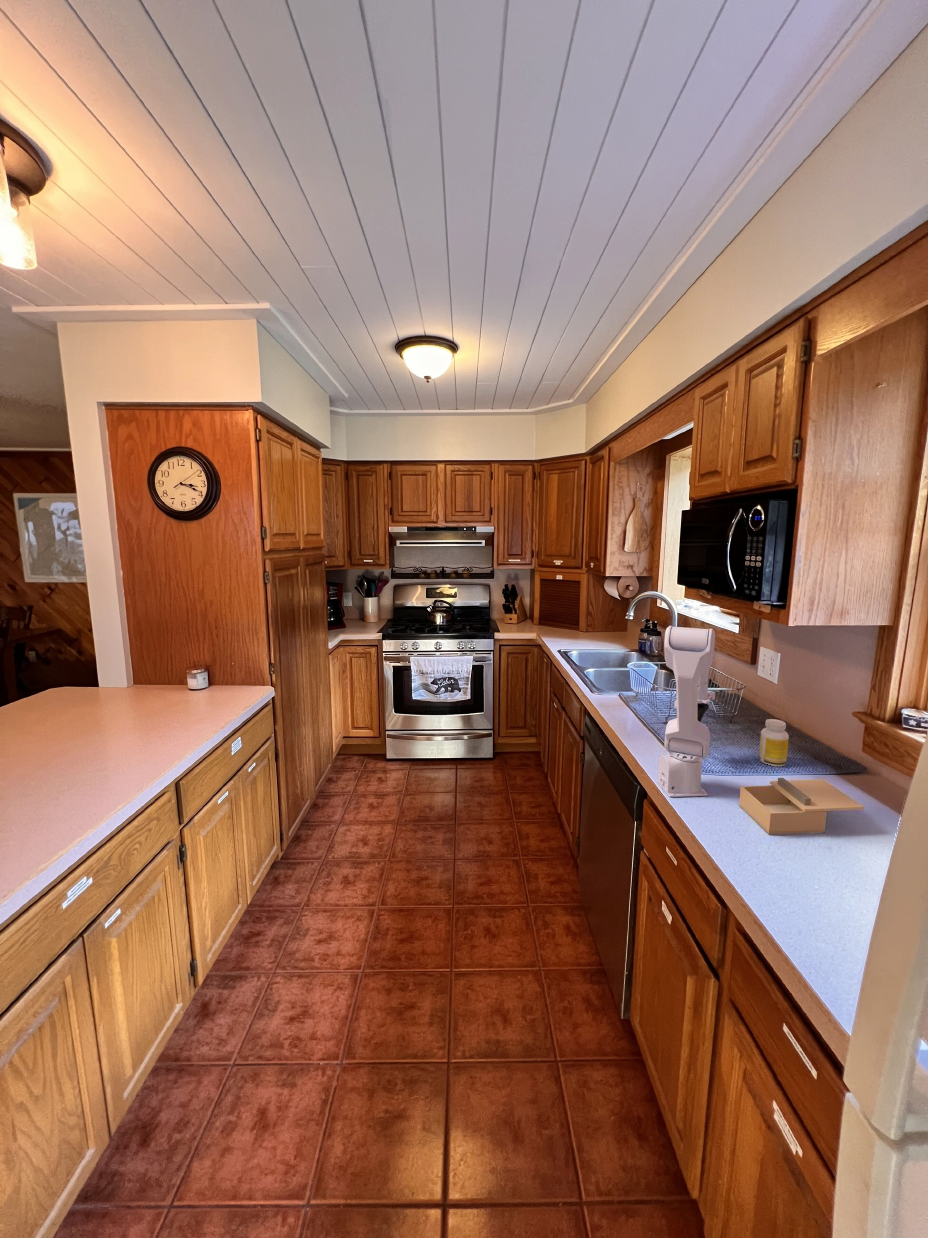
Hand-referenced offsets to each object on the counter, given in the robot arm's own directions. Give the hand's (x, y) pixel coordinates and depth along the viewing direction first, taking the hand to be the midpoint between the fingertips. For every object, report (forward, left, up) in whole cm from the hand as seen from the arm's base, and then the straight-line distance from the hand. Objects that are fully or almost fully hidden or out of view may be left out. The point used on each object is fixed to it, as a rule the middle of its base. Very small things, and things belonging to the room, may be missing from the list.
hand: (693, 728), depth 135 cm
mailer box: (+7, -28, -10) cm, 30 cm away
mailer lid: (+14, -28, -5) cm, 31 cm away
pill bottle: (+22, -2, -10) cm, 24 cm away
